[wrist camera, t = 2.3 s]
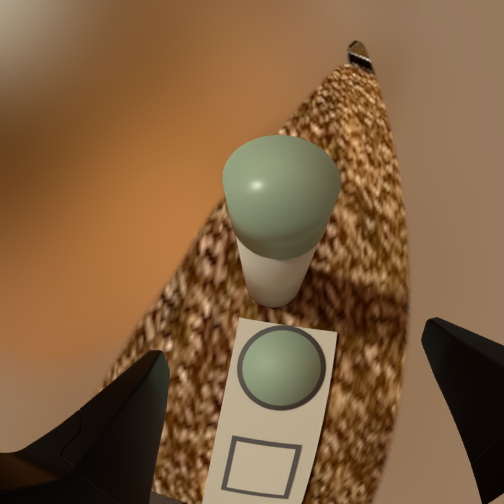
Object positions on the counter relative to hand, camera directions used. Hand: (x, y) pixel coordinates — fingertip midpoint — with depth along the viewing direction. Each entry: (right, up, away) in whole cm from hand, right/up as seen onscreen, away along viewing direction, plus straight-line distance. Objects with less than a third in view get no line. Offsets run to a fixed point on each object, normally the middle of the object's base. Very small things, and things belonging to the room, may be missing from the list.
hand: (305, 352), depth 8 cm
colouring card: (0, -10, +9) cm, 14 cm away
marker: (0, +1, +14) cm, 14 cm away
